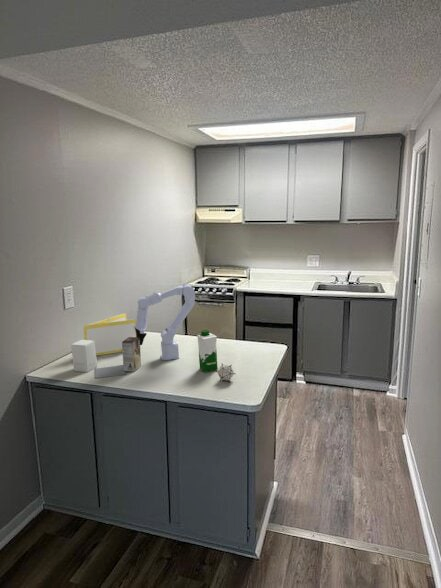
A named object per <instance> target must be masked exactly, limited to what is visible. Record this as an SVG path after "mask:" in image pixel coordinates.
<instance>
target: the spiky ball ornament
mask: <svg viewBox="0 0 441 588" xmlns="http://www.w3.org/2000/svg"><path fill="white" fill-rule="evenodd" d="M232 366H233V365H232V364H230V365H227V364H223V363H221V366H220V367H219V369H218V370H215V373H217V375H218V376H219V378H220V379H219V381H220V382H221V381H227V382H229V383H231V382H230V380H232V378H233V376H234V375H236V373H235V372H234V370H233V368H232Z"/></svg>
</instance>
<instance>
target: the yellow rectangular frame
mask: <svg viewBox="0 0 441 588" xmlns="http://www.w3.org/2000/svg"><path fill="white" fill-rule="evenodd" d="M136 319H137V318H133V319H132V318H131V319H127V313H125V312H124V313H121V314H118V315H114V316H111V317H108V318H105V319H102V320H98V321H95V322H91V323H89V324H85V325H83V337H84V339H83V340H91V341H95V350H96V357H97V356H102V355H103V356H104V355H108V354H109V355H110V354H117V353H123V349H122V342H123V341H124V340H126V339H127V338H129V337H136V331H135V328H134V326H136Z"/></svg>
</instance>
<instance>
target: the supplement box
mask: <svg viewBox="0 0 441 588" xmlns="http://www.w3.org/2000/svg"><path fill="white" fill-rule="evenodd" d="M70 347H71V356H72V362H73V363H72V364H73V372H80V373H81V372H82V373H88V372H91V371H92V370H94V369H97V367H98V362H97V356H96V350H95V341H91V340H85V339H80V340H77V341H75V342H73V343H72V344H70Z"/></svg>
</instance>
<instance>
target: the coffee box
mask: <svg viewBox="0 0 441 588" xmlns="http://www.w3.org/2000/svg"><path fill="white" fill-rule="evenodd" d="M122 349H123V352H122V363H123V364H122V365H123V370H124V371H125V372H136V371H137V370H138V369H139V368H140V367H141V366H142V360H141V359H142V358H141V345H140V338H137V337H129V338H127V339H126V340H124V341H123V342H122Z"/></svg>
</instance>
